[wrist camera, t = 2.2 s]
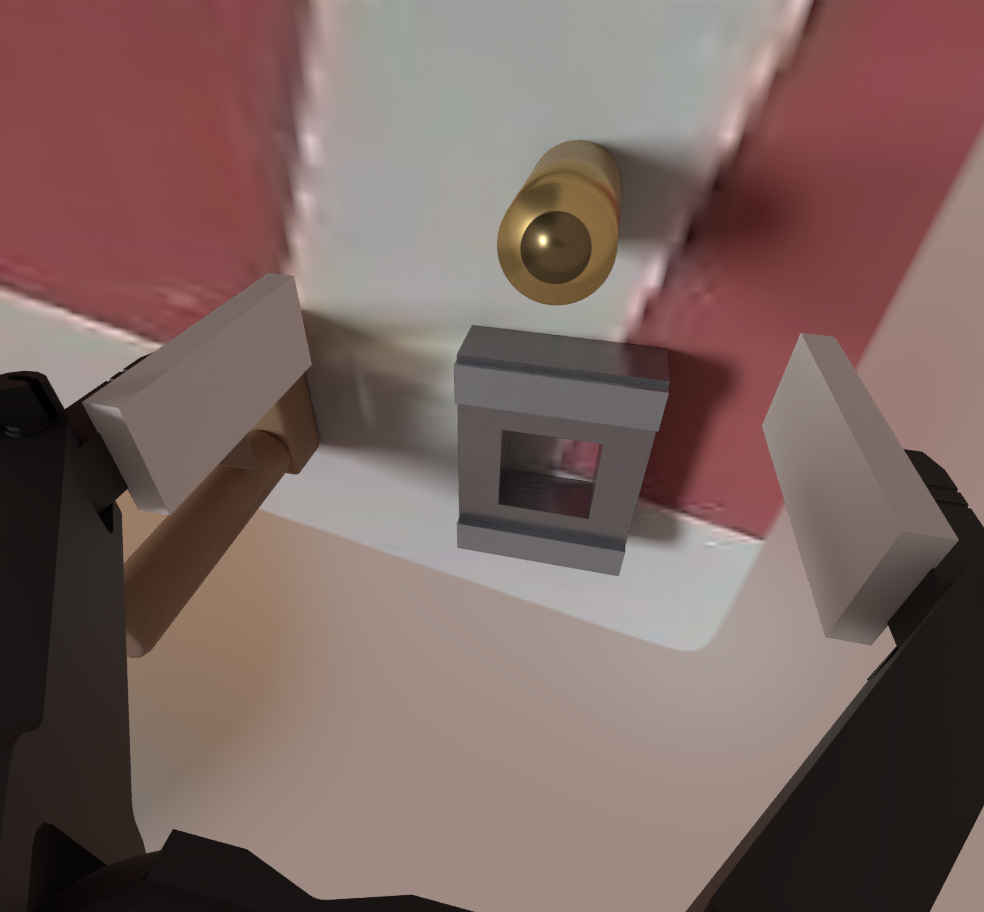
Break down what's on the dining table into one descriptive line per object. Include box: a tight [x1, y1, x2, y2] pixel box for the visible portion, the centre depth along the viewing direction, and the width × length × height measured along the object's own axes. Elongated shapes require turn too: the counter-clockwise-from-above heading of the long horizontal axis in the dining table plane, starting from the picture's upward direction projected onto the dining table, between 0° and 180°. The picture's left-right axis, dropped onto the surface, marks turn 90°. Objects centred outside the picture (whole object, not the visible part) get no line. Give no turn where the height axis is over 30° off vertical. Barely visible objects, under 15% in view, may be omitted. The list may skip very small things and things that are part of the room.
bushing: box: [497, 140, 622, 305], centre depth 23 cm, size 4×4×8 cm
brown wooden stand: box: [123, 372, 319, 658], centre depth 30 cm, size 4×11×18 cm, turn 178°
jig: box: [454, 326, 670, 576], centre depth 34 cm, size 15×11×4 cm
